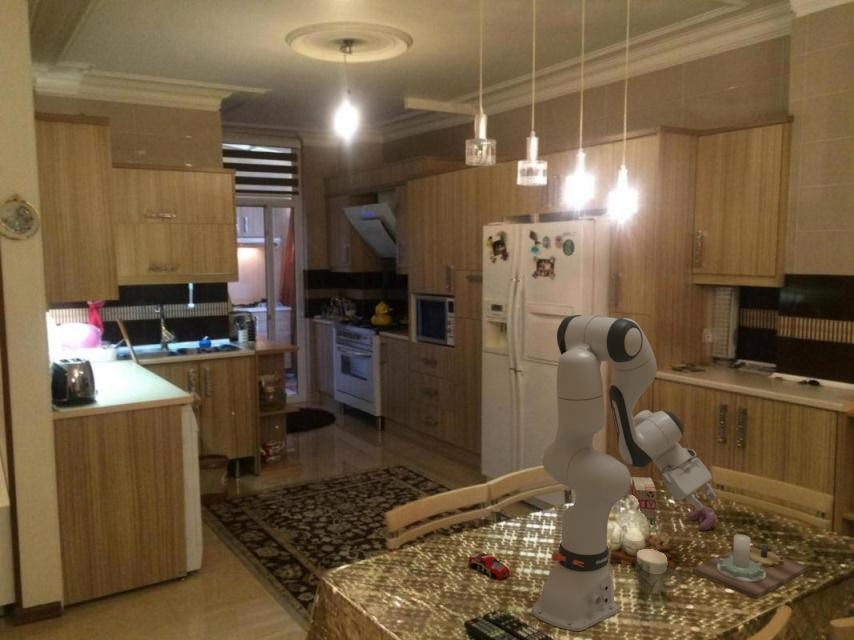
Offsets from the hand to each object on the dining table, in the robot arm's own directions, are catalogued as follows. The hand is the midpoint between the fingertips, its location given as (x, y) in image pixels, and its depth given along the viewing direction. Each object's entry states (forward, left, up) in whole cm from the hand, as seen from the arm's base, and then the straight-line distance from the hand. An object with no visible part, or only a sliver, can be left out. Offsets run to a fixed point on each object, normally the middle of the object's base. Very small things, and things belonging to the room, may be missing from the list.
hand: (708, 504), depth 192 cm
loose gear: (0, -9, -16) cm, 18 cm away
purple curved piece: (+29, +11, -18) cm, 36 cm away
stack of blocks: (+25, +30, -18) cm, 43 cm away
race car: (-41, +44, -18) cm, 63 cm away
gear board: (+5, -10, -18) cm, 21 cm away
